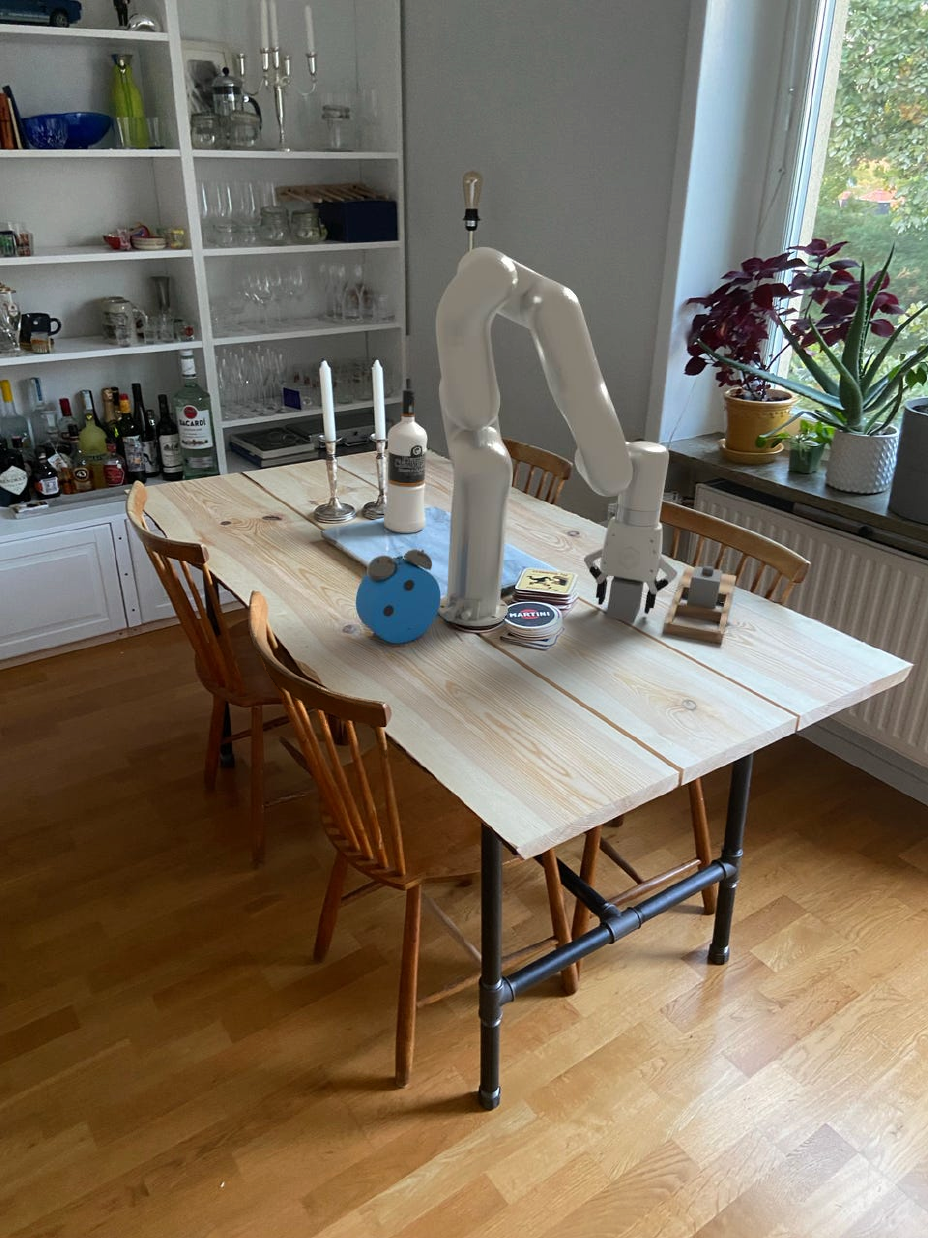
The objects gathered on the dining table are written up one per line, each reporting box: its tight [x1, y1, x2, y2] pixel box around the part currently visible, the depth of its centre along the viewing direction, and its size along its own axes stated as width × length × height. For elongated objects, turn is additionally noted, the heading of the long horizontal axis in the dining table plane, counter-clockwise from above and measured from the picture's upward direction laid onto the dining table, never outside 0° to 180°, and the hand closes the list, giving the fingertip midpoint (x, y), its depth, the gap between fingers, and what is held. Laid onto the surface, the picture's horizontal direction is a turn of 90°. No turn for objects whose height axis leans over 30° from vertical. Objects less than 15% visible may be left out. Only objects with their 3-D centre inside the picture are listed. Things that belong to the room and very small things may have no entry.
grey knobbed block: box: [686, 565, 724, 609], centre depth 168 cm, size 6×5×8 cm
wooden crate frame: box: [662, 566, 737, 645], centre depth 169 cm, size 28×10×3 cm, turn 160°
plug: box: [606, 577, 645, 623], centre depth 164 cm, size 6×5×8 cm
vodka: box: [383, 388, 428, 534], centre depth 193 cm, size 9×9×30 cm
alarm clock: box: [355, 549, 442, 644], centre depth 148 cm, size 13×6×15 cm, turn 125°
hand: (624, 605), depth 165 cm, fingers open, 7 cm apart
